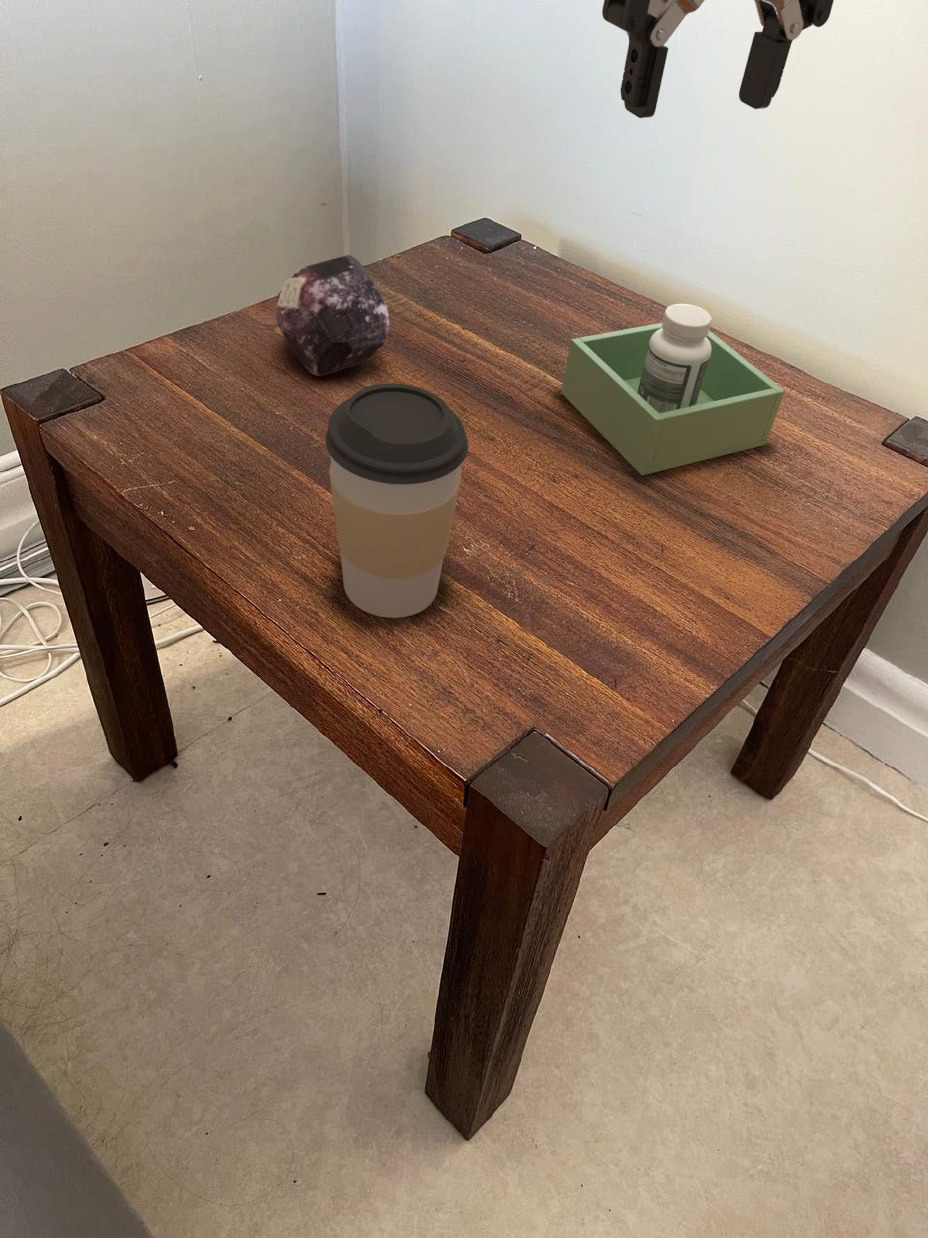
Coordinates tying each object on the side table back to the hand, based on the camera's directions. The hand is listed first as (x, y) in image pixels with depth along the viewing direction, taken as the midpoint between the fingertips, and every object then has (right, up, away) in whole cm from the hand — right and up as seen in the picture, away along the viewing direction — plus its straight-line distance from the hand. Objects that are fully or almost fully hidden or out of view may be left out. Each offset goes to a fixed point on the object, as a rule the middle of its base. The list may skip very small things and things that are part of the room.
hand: (697, 108), depth 58 cm
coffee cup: (-19, -28, +12) cm, 36 cm away
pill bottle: (+4, -12, +31) cm, 33 cm away
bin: (+4, -12, +31) cm, 34 cm away
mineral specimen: (-26, -6, +34) cm, 43 cm away
